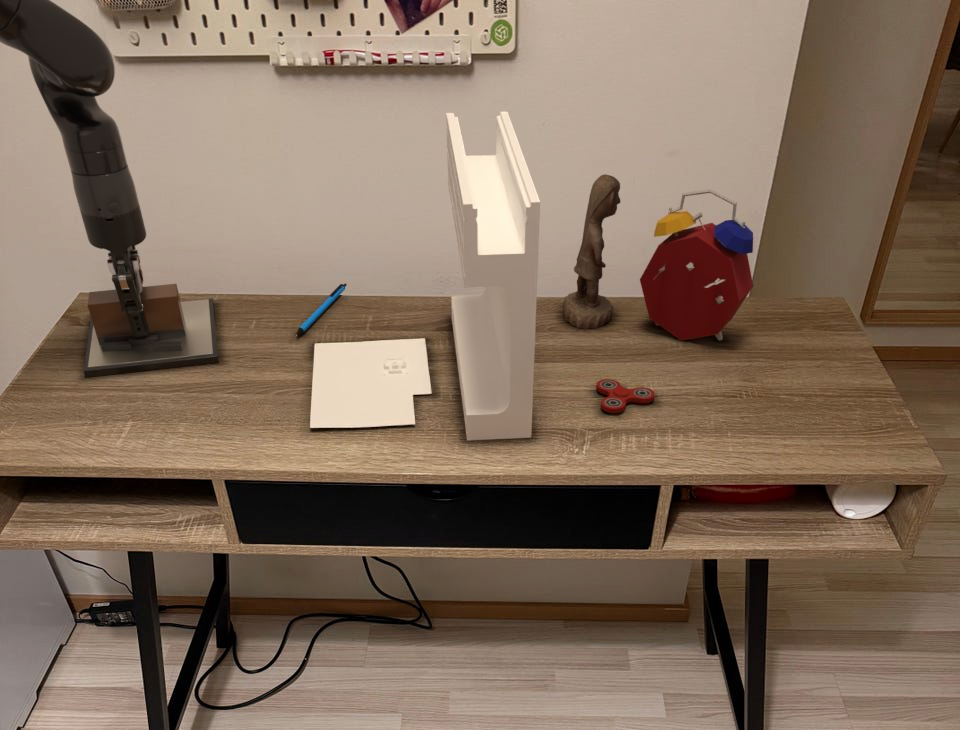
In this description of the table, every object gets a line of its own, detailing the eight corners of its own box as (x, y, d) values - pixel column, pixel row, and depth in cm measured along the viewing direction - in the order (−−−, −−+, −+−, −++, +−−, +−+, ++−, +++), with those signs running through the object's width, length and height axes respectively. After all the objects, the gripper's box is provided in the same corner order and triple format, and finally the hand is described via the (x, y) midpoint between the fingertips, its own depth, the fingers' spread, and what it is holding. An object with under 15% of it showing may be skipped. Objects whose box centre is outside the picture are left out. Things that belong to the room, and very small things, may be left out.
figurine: (622, 323, 140) (637, 181, 127) (578, 332, 138) (588, 189, 124) (593, 300, 146) (605, 162, 132) (550, 308, 144) (558, 169, 130)
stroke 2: (129, 346, 132) (128, 341, 132) (130, 342, 133) (128, 337, 133) (158, 343, 133) (157, 338, 133) (158, 339, 134) (157, 334, 133)
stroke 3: (153, 351, 131) (152, 345, 131) (155, 347, 132) (153, 342, 132) (182, 350, 131) (181, 345, 131) (183, 346, 132) (182, 341, 132)
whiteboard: (85, 377, 128) (82, 369, 127) (93, 316, 142) (91, 309, 142) (218, 362, 131) (217, 354, 130) (213, 304, 145) (212, 297, 145)
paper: (306, 345, 135) (305, 337, 134) (424, 336, 137) (424, 329, 136) (310, 434, 117) (309, 426, 116) (445, 423, 119) (445, 415, 118)
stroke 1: (102, 351, 131) (101, 346, 131) (104, 347, 132) (102, 342, 132) (131, 350, 132) (130, 344, 131) (133, 346, 132) (131, 340, 132)
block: (531, 437, 116) (540, 202, 97) (466, 440, 116) (463, 204, 97) (504, 316, 142) (507, 111, 123) (451, 318, 141) (446, 113, 122)
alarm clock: (743, 335, 137) (772, 191, 123) (723, 359, 132) (751, 211, 118) (650, 313, 143) (667, 173, 129) (627, 335, 137) (642, 191, 123)
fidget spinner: (610, 417, 120) (611, 408, 119) (576, 393, 124) (577, 384, 124) (658, 401, 123) (660, 392, 122) (624, 378, 128) (625, 369, 127)
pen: (348, 287, 150) (347, 280, 149) (299, 338, 136) (298, 331, 136) (343, 286, 150) (342, 279, 149) (293, 338, 136) (292, 330, 136)
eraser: (99, 345, 133) (87, 304, 128) (101, 332, 136) (89, 291, 131) (186, 336, 135) (176, 295, 130) (185, 323, 138) (176, 283, 134)
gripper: (82, 188, 127) (116, 310, 139) (75, 225, 117) (112, 353, 129) (139, 184, 128) (168, 304, 140) (137, 220, 118) (168, 347, 130)
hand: (141, 327), depth 134 cm, fingers closed on eraser, 4 cm apart
